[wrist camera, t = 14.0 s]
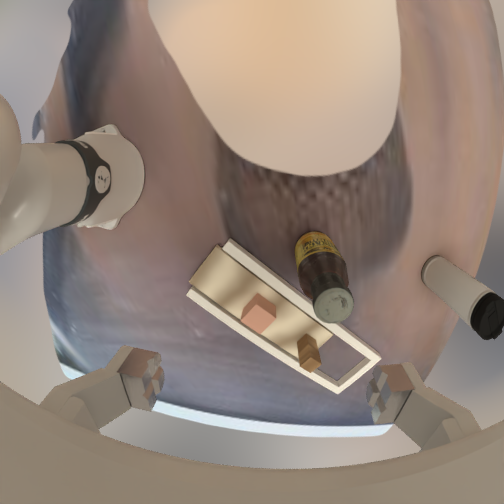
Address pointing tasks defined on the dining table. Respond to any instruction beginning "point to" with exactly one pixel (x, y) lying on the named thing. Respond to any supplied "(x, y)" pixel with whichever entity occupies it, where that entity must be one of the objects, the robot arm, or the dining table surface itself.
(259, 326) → the terracotta block
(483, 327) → the travel mug
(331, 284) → the sauce bottle
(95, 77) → the dining table surface
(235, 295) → the pale strip
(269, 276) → the guide rails
